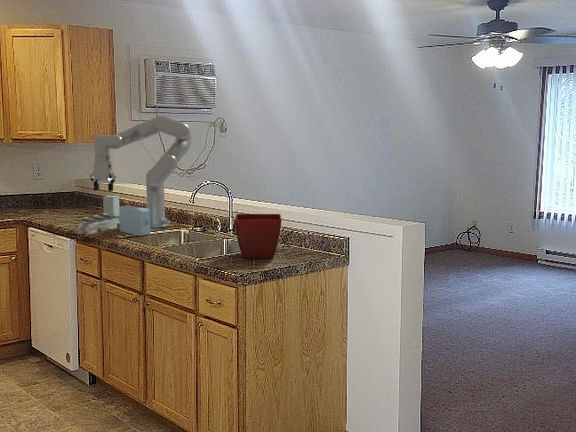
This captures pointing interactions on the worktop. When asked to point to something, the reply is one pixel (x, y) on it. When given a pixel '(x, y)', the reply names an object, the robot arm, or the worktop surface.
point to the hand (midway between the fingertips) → (103, 190)
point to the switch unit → (98, 227)
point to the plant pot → (258, 234)
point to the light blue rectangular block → (134, 220)
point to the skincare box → (111, 206)
